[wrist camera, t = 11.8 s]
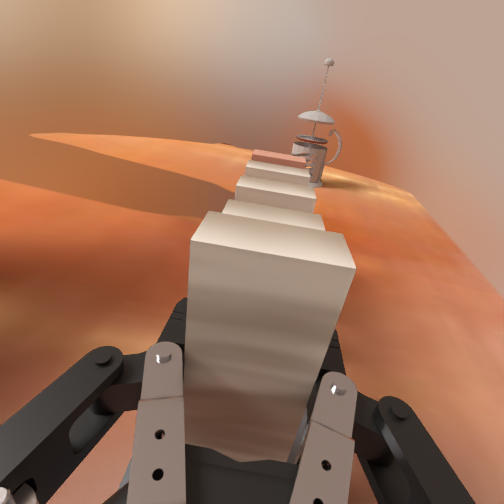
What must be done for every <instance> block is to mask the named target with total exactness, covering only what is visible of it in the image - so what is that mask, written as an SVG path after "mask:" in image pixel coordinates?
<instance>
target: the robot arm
mask: <svg viewBox="0 0 504 504" xmlns="http://www.w3.org/2000/svg"><path fill="white" fill-rule="evenodd" d="M186 316H187V298H183V299H182V300H181V301H179V302H178V303H177V304H176V306H175V308H174V310H173V313H172V314H171V316H170V318H169V320H168V322H167V324H166V326H165V328H164V330H163V331H162V333H161V335H160V337H159V339H158V341H157V343H156V344H154V345H153V346H151V347H150V348H149V349H148V350H147V351H146V352H143V353H139V354H131V355H123V354H122V352H121V351H120V350H119V349H118V348H116V347H112V346H103V347H99V348H96V349H94V350H92V351H90V352H89V353H88V354H86V355H85V356H84V357H83V358H82V359H80V360H79V361H78V362H77V363H76V364H74V365H73V366H72V367H71V368H70V369H68V370H67V371H66V372H65V373H64V374H62V375H61V376H60V377H59V378H58V379H56V380H55V381H54V382H53V383H52V384H50V385H49V386H48V387H47V388H46V389H44V390H43V391H42V392H41V393H40V394H38V395H37V396H36V397H35V398H33V399H32V400H31V401H30V402H29V403H27V404H26V405H25V406H24V407H23V408H21V409H20V410H19V411H18V412H17V413H15V414H14V415H13V416H12V417H11V418H9V419H8V420H7V421H6V422H5V423H3V424H2V425H1V426H0V504H46V503H47V501H48V500H49V499H50V498H51V497H52V496H53V494H54V493H55V492H56V491H57V490H58V489H59V487H60V486H61V485H62V484H63V483H64V482H65V480H66V479H67V478H68V477H69V476H70V475H71V473H72V472H73V471H74V470H75V469H76V468H77V466H78V465H79V464H80V463H81V462H82V461H83V459H84V458H85V457H86V456H87V455H88V454H89V452H90V451H91V450H92V449H93V448H94V446H95V445H96V444H97V443H98V442H99V441H100V439H101V438H102V437H103V436H104V435H105V434H106V432H107V431H108V430H109V429H110V428H111V427H112V425H113V424H114V423H115V422H116V421H117V420H118V418H119V417H120V416H121V415H122V414H123V412H124V411H131V410H137V418H136V427H135V435H134V444H133V452H132V461H131V469H130V478H129V482H127V483H126V484H125V485H124V486H123V487H122V488H120V489H119V490H118V491H117V492H116V493H115V494H113V495H112V496H111V497H110V498H109V499H108V500H106V501H105V502H104V503H103V504H348V496H349V487H350V479H351V471H352V463H353V455H354V453H356V454H357V456H358V459H359V461H360V463H361V466H362V468H363V470H364V472H365V475H366V477H367V479H368V481H369V484H370V486H371V488H372V490H373V492H374V495H375V497H376V499H377V501H378V504H476V503H475V502H474V500H473V499H472V497H471V496H470V494H469V493H468V491H467V490H466V488H465V487H464V485H463V484H462V483H461V481H460V480H459V478H458V477H457V475H456V474H455V472H454V471H453V469H452V468H451V466H450V465H449V463H448V462H447V460H446V459H445V457H444V456H443V454H442V453H441V451H440V450H439V448H438V447H437V445H436V444H435V442H434V441H433V439H432V438H431V436H430V435H429V433H428V432H427V430H426V429H425V427H424V426H423V424H422V423H421V421H420V420H419V418H418V417H417V415H416V414H415V412H414V411H413V410H412V408H411V407H410V406H409V405H408V404H406V403H405V402H404V401H402V400H400V399H398V398H396V397H392V396H386V397H383V398H381V399H380V401H379V402H378V401H376V400H373V399H371V398H369V397H367V396H365V395H363V394H361V393H360V392H358V391H357V388H356V386H355V384H354V383H353V381H352V380H351V379H350V378H349V377H347V376H346V373H345V368H344V363H343V359H342V354H341V349H340V344H339V342H338V341H339V340H338V335H337V331H336V330H334V332H333V335H332V338H331V341H330V343H329V346H328V349H327V352H326V354H325V357H324V360H323V363H322V366H321V368H320V371H319V374H318V377H317V379H316V381H315V383H314V386H313V389H312V391H311V394H310V397H309V400H308V403H307V405H306V407H307V420H306V423H305V427H304V430H303V434H302V437H301V441H300V444H299V448H298V451H297V455H296V458H295V462H294V464H292V463H287V462H281V461H276V460H270V459H268V460H259V461H249V462H238V461H236V460H234V459H232V458H230V457H228V456H226V455H224V454H222V453H220V452H218V451H216V450H214V449H211V448H206V447H201V446H195V445H190V444H185V430H184V396H183V382H184V364H185V357H184V354H185V335H186Z"/></svg>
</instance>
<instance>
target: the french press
mask: <svg viewBox="0 0 504 504" xmlns="http://www.w3.org/2000/svg"><path fill="white" fill-rule="evenodd" d="M324 64H325V65H328V68H329V66H333V65H334V61H333V59H330V58H329V59H327V60H325V63H324ZM328 68H327V72H328ZM327 72H326V77H327ZM326 77H325V82H326ZM325 82H324V86H325ZM324 86H323V90H324ZM323 90H322V95H323ZM322 95H321V99H322ZM321 99H320V104H321ZM320 104H319V108H320ZM319 108H318V110H316V111H308V112H305V113H302V114H301V115H299V116H298V118H299V119H301V120H304V121H309V122H314V123H315V125H316V123H320V124H328V125H333V124H334V123H335V121H334V120H333V119H332V118H331V117H330V116H328V115H327V114H325V113H322V112H321V111H320V110H319ZM314 130H315V126H314ZM314 130H313V134H314ZM331 131H332V132H331ZM333 132H334V133H335V134H336V136H337V137H338V135H339V133H338V132H337V131H336V130H330V132H329V136H331V135H332V133H333ZM330 133H331V135H330ZM337 134H338V135H337ZM296 137H297V138H298V139H300V140H302V141H305V142H294V144H293V149H292V154H291V155H292V156H298V157H304V158H305V160H306V167H307V166H310V167H312V168H305V169H306V170H309V174H310V182H309V186H308V187H313V188H314V187H321V186H322V185H323V184H322V182H321V181H320V180H321V176H322V172H323V168H324V165H325V164H328V163H330V162H332V161H334V160H335V159H336V158H337V157H338V155H339V153H340V150H341V147H342V141H341V136H340V135H339V137H340V140H339V137H338V142H339V148H340V150H339V148H338V151H337V154H336V156H335V157H334V158H333V160H331V161H330V162H326V163H324V161H325V156H326V153H327V148H326V147H324V146H321V145H317V144H326V143H327V142H328V141H327V140H325V139H322V138H321V139H320V138H318V137H317V138H316V137H314V136H313V135H312V136H307V135H297V136H296ZM307 141H308V142H310V143H306V142H307ZM340 141H341V146H340ZM313 143H317V144H313ZM338 152H339V153H338ZM300 153H309V154H303V155H300ZM311 155H315V156H316V157H317V158H312V157H309V156H311ZM308 161H313V162H315V163H308Z"/></svg>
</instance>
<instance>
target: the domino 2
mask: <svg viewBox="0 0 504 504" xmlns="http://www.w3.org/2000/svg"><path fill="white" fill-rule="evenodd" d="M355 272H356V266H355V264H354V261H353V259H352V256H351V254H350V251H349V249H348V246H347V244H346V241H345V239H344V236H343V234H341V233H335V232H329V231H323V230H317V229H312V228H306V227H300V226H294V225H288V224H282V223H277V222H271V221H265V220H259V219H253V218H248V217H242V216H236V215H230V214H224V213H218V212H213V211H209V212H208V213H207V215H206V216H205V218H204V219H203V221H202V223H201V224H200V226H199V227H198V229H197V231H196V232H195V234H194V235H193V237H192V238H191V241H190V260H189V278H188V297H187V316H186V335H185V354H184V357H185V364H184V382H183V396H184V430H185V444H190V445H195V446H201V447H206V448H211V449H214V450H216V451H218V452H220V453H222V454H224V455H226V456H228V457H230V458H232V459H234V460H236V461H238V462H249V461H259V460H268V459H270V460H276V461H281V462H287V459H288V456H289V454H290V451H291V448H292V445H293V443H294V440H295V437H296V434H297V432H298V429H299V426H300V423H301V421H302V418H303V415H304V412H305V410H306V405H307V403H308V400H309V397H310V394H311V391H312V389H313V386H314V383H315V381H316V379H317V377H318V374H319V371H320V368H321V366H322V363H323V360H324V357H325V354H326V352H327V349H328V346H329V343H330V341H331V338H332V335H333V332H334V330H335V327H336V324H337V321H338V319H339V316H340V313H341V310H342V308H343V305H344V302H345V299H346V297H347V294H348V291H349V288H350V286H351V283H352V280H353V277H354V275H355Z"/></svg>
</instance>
